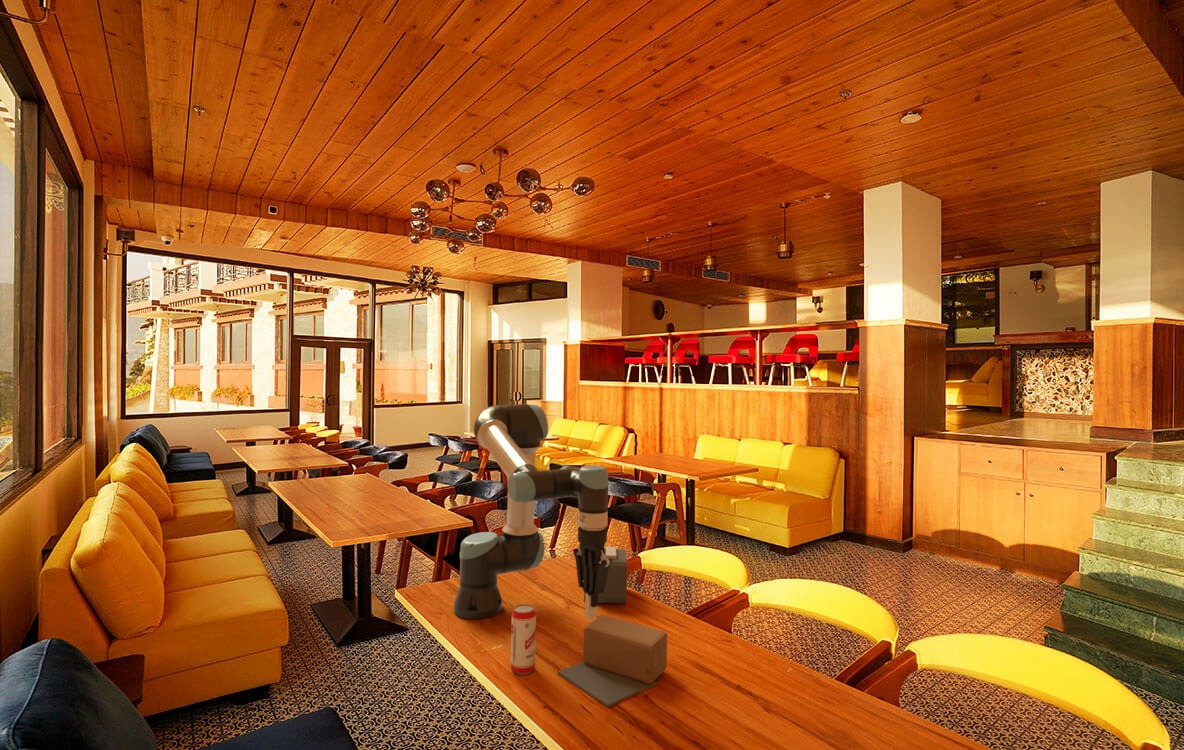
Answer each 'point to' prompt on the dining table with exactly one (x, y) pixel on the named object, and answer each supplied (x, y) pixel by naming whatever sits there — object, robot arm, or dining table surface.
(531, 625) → the beer can
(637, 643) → the wooden block
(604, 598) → the alarm clock
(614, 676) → the mat
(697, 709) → the dining table surface
